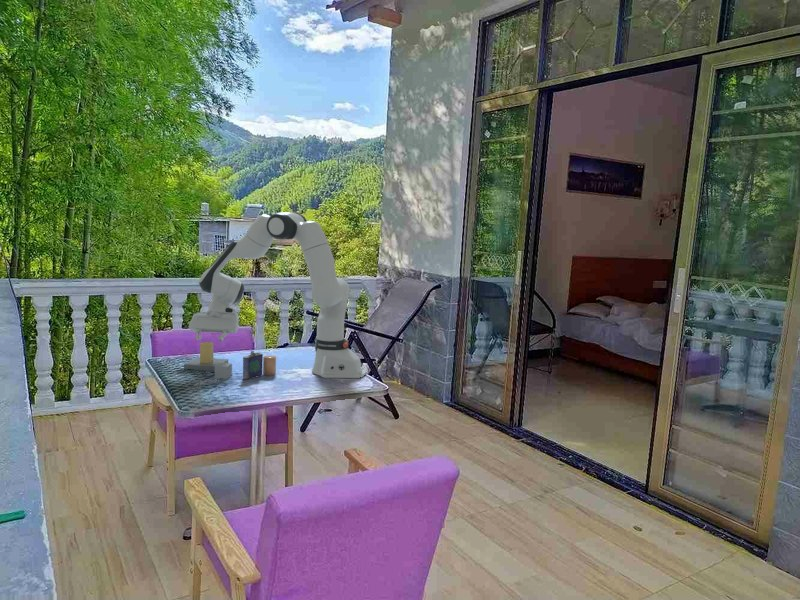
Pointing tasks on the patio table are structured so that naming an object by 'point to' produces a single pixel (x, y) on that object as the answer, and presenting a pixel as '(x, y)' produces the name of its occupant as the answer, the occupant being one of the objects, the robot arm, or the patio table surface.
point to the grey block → (223, 370)
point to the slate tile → (203, 364)
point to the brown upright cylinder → (269, 365)
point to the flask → (252, 365)
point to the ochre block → (206, 352)
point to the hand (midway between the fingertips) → (209, 339)
